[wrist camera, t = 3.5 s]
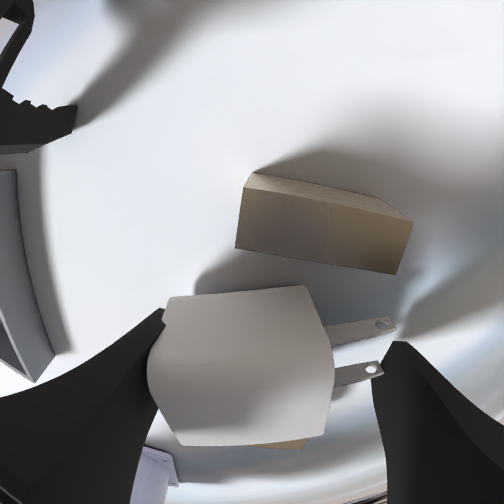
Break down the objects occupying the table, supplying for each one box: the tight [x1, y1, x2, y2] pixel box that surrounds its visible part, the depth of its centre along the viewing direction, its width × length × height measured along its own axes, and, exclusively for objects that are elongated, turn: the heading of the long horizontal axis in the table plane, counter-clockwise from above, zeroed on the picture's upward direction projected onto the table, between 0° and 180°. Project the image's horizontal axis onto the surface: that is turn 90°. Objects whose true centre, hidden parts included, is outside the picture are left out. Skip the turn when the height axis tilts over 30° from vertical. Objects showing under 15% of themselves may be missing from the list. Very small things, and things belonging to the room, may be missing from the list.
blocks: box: [235, 173, 413, 450], centre depth 9 cm, size 11×4×2 cm, turn 171°
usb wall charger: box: [147, 285, 397, 446], centre depth 8 cm, size 4×7×4 cm, turn 95°
